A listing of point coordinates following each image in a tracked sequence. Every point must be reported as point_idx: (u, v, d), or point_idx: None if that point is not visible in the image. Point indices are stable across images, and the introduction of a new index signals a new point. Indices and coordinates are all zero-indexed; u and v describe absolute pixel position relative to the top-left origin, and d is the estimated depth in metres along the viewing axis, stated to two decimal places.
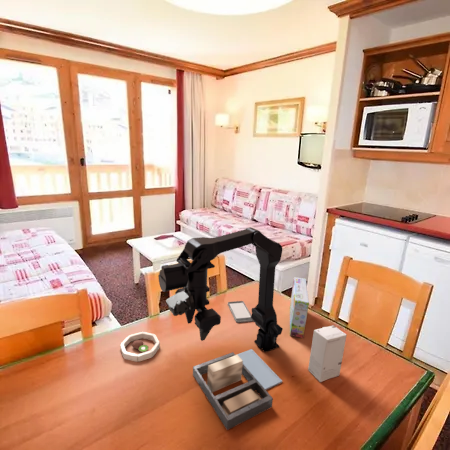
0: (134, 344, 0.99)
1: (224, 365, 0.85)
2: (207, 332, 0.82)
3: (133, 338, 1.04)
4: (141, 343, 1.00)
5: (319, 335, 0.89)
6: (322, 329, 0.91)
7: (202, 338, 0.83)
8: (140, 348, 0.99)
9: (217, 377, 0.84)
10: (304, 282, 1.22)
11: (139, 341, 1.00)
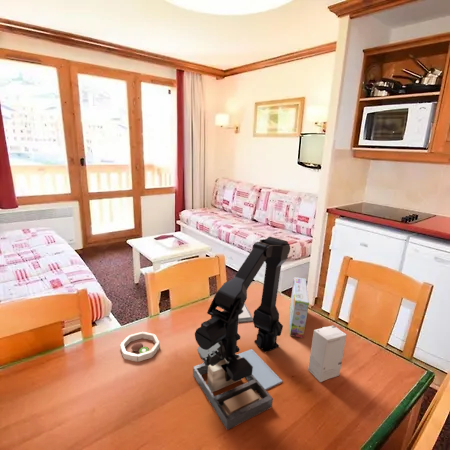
0: (134, 347, 0.98)
1: None
2: None
3: (133, 338, 1.04)
4: (141, 345, 0.99)
5: (319, 335, 0.89)
6: (322, 329, 0.91)
7: (227, 379, 0.85)
8: (140, 350, 0.98)
9: (217, 377, 0.84)
10: (304, 282, 1.22)
11: (139, 343, 0.99)
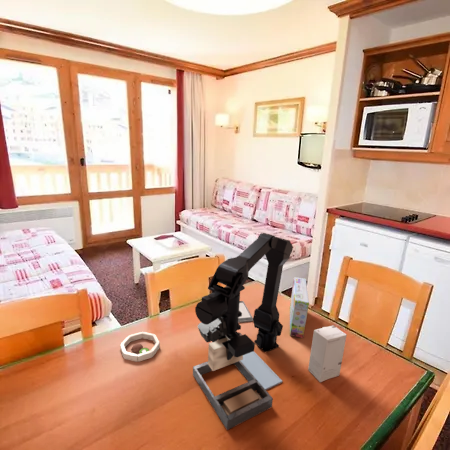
0: (134, 348, 0.98)
1: None
2: None
3: (133, 338, 1.04)
4: (141, 346, 0.99)
5: (319, 335, 0.89)
6: (322, 329, 0.91)
7: (228, 357, 0.83)
8: (141, 351, 0.97)
9: (218, 355, 0.82)
10: (304, 282, 1.22)
11: (138, 344, 0.99)
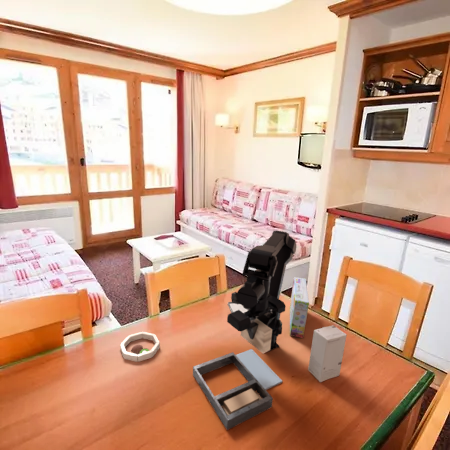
0: (134, 349, 0.97)
1: None
2: (251, 333, 0.87)
3: (133, 338, 1.04)
4: (141, 347, 0.98)
5: (319, 335, 0.89)
6: (322, 329, 0.91)
7: (249, 335, 0.88)
8: (141, 352, 0.97)
9: None
10: (304, 282, 1.22)
11: (138, 345, 0.98)
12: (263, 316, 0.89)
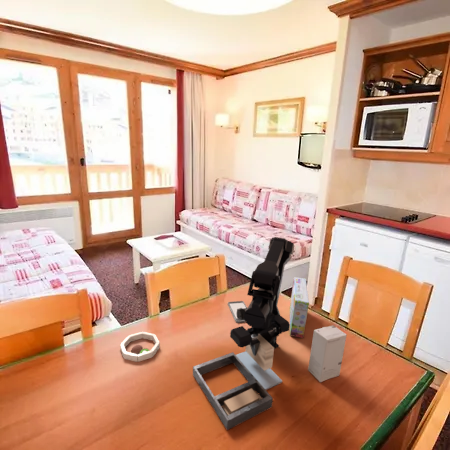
0: (134, 350, 0.97)
1: None
2: (253, 349, 0.89)
3: (133, 338, 1.04)
4: (141, 347, 0.98)
5: (319, 335, 0.89)
6: (322, 329, 0.91)
7: (252, 351, 0.91)
8: (141, 352, 0.97)
9: None
10: (304, 282, 1.22)
11: (138, 346, 0.98)
12: (266, 334, 0.91)
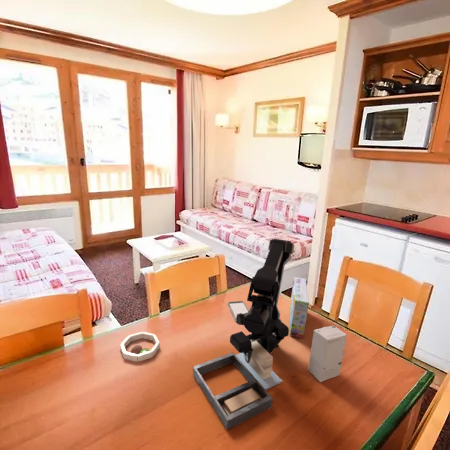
0: (134, 350, 0.97)
1: (256, 347, 0.92)
2: (246, 357, 0.89)
3: (133, 338, 1.04)
4: (140, 348, 0.98)
5: (319, 335, 0.89)
6: (322, 329, 0.91)
7: (245, 359, 0.90)
8: (141, 352, 0.97)
9: None
10: (304, 282, 1.22)
11: (138, 346, 0.98)
12: (272, 336, 0.93)
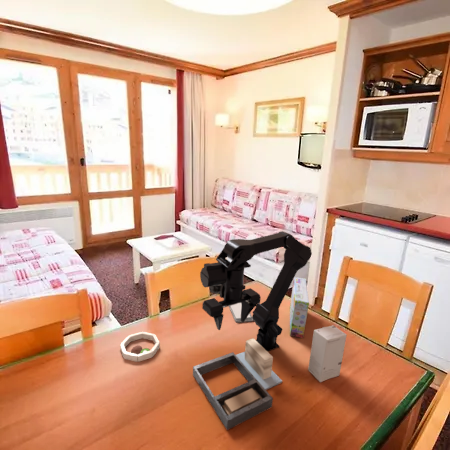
0: (134, 350, 0.96)
1: (256, 347, 0.92)
2: (217, 323, 0.90)
3: (133, 338, 1.04)
4: (141, 348, 0.98)
5: (319, 335, 0.89)
6: (322, 329, 0.91)
7: None
8: (142, 352, 0.97)
9: (248, 350, 0.94)
10: (304, 282, 1.22)
11: (138, 346, 0.98)
12: (245, 304, 0.96)
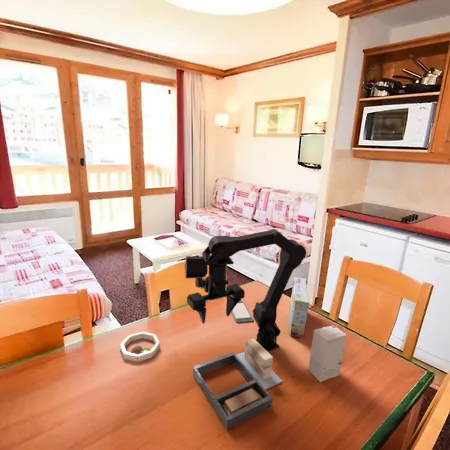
0: (135, 351, 0.96)
1: (256, 347, 0.92)
2: (201, 317, 0.94)
3: (133, 338, 1.04)
4: (141, 348, 0.98)
5: (319, 335, 0.89)
6: (322, 329, 0.91)
7: (201, 319, 0.96)
8: (142, 352, 0.97)
9: (248, 350, 0.94)
10: (304, 282, 1.22)
11: (138, 347, 0.98)
12: (230, 298, 0.98)
